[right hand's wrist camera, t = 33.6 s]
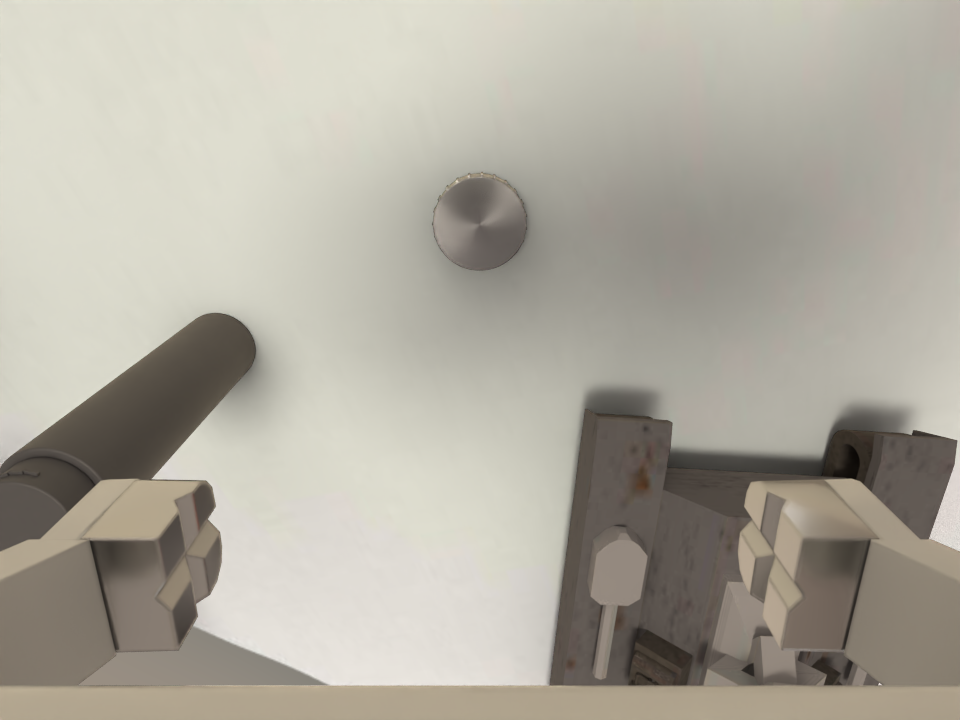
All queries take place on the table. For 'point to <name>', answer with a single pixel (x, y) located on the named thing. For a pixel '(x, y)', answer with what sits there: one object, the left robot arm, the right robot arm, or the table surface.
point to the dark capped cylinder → (123, 426)
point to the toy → (701, 558)
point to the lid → (479, 221)
